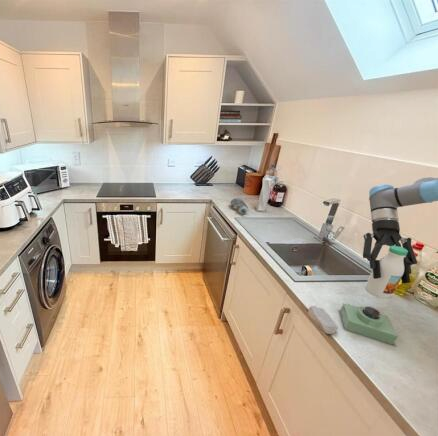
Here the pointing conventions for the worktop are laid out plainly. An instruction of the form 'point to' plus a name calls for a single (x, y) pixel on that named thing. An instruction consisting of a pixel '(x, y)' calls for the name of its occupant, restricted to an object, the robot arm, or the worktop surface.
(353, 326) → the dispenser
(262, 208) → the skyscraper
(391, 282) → the milk bottle
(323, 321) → the soap bar
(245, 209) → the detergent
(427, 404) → the worktop surface
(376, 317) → the black disc
